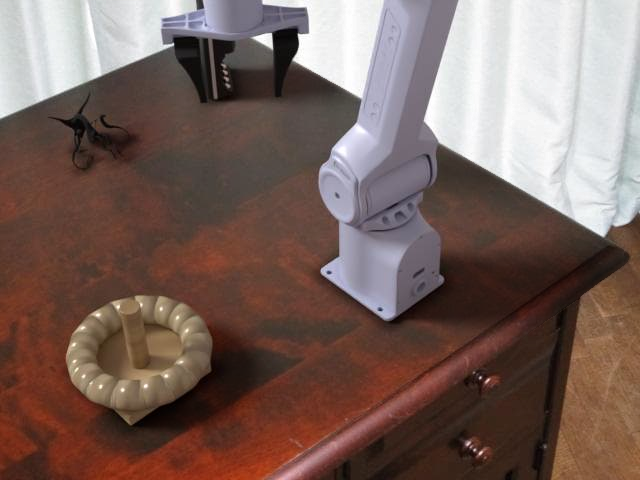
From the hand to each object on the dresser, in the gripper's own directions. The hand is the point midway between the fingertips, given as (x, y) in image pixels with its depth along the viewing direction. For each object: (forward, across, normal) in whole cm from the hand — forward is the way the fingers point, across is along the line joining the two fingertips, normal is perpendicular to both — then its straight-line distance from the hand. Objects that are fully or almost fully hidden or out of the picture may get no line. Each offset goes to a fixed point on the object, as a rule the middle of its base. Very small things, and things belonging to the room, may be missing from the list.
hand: (240, 94), depth 119 cm
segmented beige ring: (+7, +11, +28) cm, 31 cm away
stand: (+9, +11, +28) cm, 32 cm away
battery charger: (+10, +2, -16) cm, 19 cm away
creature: (+10, +16, -5) cm, 20 cm away
